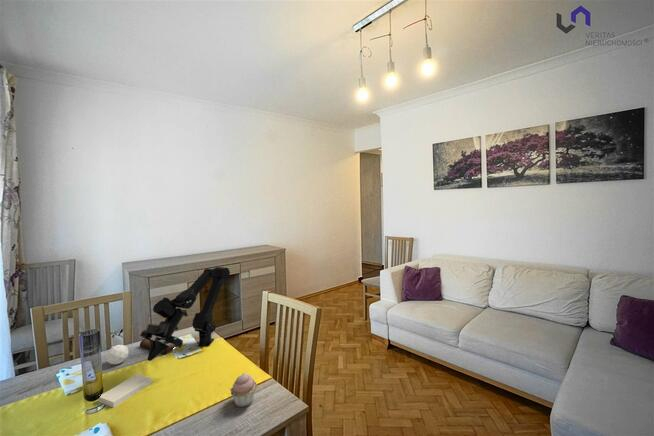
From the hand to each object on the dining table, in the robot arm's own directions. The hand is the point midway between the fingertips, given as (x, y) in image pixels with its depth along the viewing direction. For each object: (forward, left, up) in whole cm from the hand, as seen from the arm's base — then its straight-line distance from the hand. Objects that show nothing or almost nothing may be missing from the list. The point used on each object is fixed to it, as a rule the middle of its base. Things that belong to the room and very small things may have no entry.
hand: (148, 360), depth 110 cm
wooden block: (+2, -1, -6) cm, 7 cm away
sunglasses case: (-24, -10, -8) cm, 27 cm away
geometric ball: (-10, -20, -7) cm, 24 cm away
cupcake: (+14, +42, -7) cm, 45 cm away
